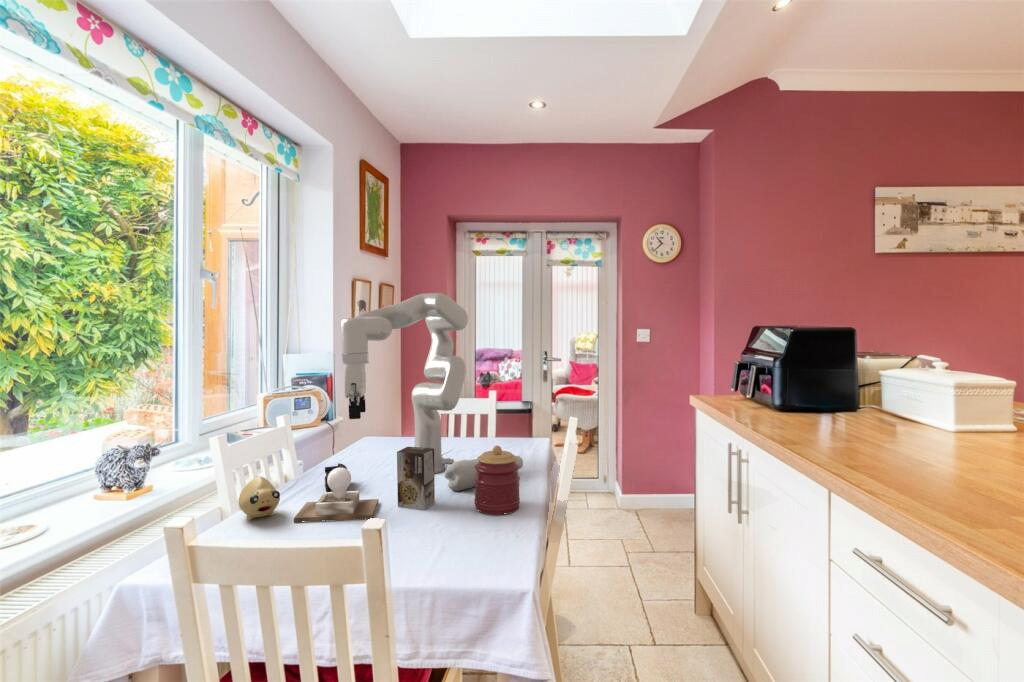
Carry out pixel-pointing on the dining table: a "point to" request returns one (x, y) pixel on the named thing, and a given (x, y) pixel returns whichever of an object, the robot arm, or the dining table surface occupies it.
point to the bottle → (465, 473)
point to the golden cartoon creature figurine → (258, 498)
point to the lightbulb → (339, 483)
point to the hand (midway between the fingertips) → (357, 415)
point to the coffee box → (415, 477)
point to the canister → (497, 482)
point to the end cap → (327, 471)
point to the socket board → (337, 508)
